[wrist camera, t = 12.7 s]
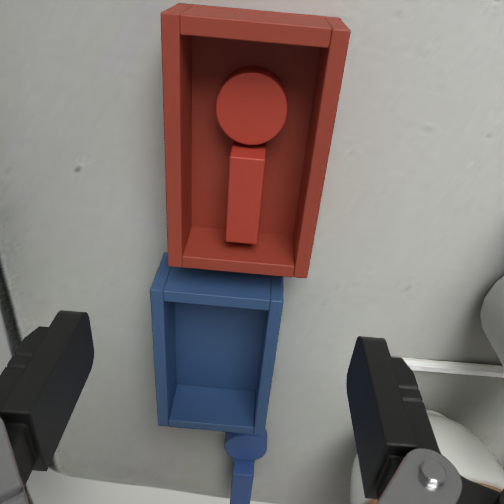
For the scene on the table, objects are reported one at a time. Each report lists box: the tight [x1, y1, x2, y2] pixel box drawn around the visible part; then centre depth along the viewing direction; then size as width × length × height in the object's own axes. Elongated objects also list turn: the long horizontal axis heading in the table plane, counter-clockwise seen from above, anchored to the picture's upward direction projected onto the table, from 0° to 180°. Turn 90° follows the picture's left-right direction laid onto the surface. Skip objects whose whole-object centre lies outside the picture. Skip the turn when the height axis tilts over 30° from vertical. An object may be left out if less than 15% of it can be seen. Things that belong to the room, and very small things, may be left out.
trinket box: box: [350, 409, 504, 504], centre depth 31 cm, size 11×11×9 cm
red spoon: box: [215, 66, 288, 244], centre depth 22 cm, size 8×3×2 cm, turn 176°
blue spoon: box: [225, 430, 267, 504], centre depth 36 cm, size 8×3×2 cm, turn 176°
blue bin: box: [150, 253, 283, 435], centre depth 29 cm, size 7×11×4 cm, turn 176°
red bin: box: [161, 3, 350, 278], centre depth 21 cm, size 7×11×4 cm, turn 176°
